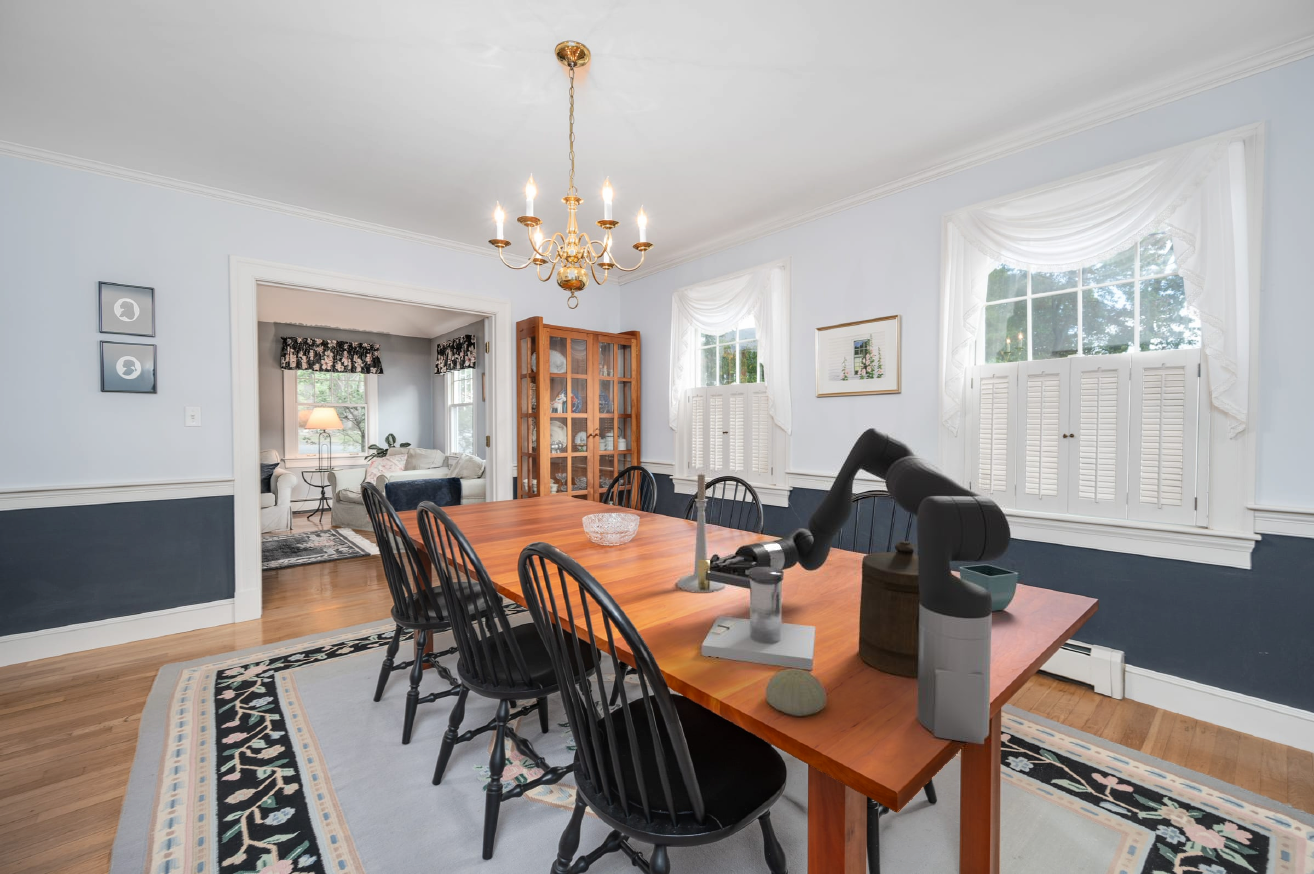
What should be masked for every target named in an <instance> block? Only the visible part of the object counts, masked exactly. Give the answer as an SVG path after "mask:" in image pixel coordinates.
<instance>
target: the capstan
mask: <svg viewBox="0 0 1314 874" xmlns="http://www.w3.org/2000/svg"><path fill="white" fill-rule="evenodd" d="M784 573H785V572H784V570H780V569H777V568H772V567H754V568H751V569H749V578H746V577H741V576H736V575H730V574H725V573H720V572H715V571H710V559H708V558H707V559H699V560H698V589H699V590H703V591H706V590H709V589H710V581H713V582H718V583H723V584H725V585H727V586H734V587H738V588H743V589H747V590H749V619H750V637H751V638H752V639H754V640H757V641H761V642H776V641H779V640H780V639H781V625H782V623H783V622H782V621H783V620H782V619H783V618H782V617H783V615H782V613H783V612H782V610H783V609H782V603H783V601H782V599H783V598H782V597H783V591H782V590H783V580H784V575H785V574H784Z"/></svg>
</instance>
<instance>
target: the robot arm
mask: <svg viewBox="0 0 1314 874" xmlns="http://www.w3.org/2000/svg"><path fill="white" fill-rule="evenodd" d="M860 470H862V471H864V472H867V473H868V474H871V475H873V476H875V477H877V478H879V479H881V480H884V481H885V487H886V490H887V492H888V494H889V495H890V498H892V499H893V500H894V502H895V503H896V504H897V505H898V506H899V507H900V508H901V509H903V510H904V511H905V512H907V513H909V514H911V515H913V516H916V539H917V555H918V580H919V594H920V595H919V648H918V678H917V719H918V722H919V723H920V724H921V725H922V726H923V727H924V728H925V729H927V730H929V732H931V733H932V734H933V736H934V737H935V738H940V739H946V740H952V741H959V742H965V743H966V742H967V743H971V744H972V743H973V744H979V745H984V744H985V739H987V738H988V737H989V735H990V710H991V709H990V707H991V705H990V702H991V701H990V700H991V699H990V698H991V654H992V620H993V619H992V615H993V613H992V612H993V611H992V598H991V595H990V593H989V592H988V591H987V590H986V589H984V588H983V587H981V586H979V585H977V584H974V583H971V582H968V581H966V580H963V579H961V578H960V577H958V576H957V575H954V574H953V573H952V569H951V562H975V563H981V562H982V563H984V562H992V561H994V560H995V561H996V560H997V559H999V558H1000V557H1002V556H1004V555H1005V553H1006V552H1007V550H1008V549H1009V546H1010V545H1011V544H1010V543H1011V535H1012V533H1011V529H1010V524H1009V521H1008V519H1007V517H1006V515H1005V513H1004V512H1003V510H1002V509H1001V508H1000V506H999V505H998V504H997V503H996V502H995V501H994V500H992V499H991V498H989V497H987V496H984V495H983V494H980V493H978V492H976V491H974V490H972V489H969V488H968V487H965V486H964V485H962V484H960V483H959V482H958V481H956V480H954V479H953V478H952V477H951V476H948V475H947V474H946V473H944V472H943V471H942V470H940V469H939V468H938V467H937V466H935V464H932V462H930V461H928V460H926V459H924V458H923V457H919V456H918V455H917V454H916V453H915V451H914V450H913V448H912V447H911V446H910V445H908V444H907V443H906V442H905V441H903V440H900V439H898V438H897V437H894V436H892V435H891V434H888V433H886V432H884V431H882V430H880V429H877V428H873V427H872V428H869V429H866V430H864V431H863V432H862V434H861V435H860V436H859V437H858V439H857V440H856V442H855V443H854V445H853V446H852V448H851V450H850V452H849V453H848V455H847V456H846V459H845V461H844V463H843V464H842V466H841V468H840V470H839V471H838V474H837V476H836V477H835V479H834V482H833V483H832V485H831V487H830V489H829V491H828V493H827V494H826V496H824V499H823V501H822V502H821V503H820V504H819V506H818V507H817V509H816V510H815V511H814V512H813V514H812V515H811V516H810V518H809V520H808V522H807V527H808V529H806V528H803V527H798V528H795V529H794V530H792V531H790V533H788V534H786V535H785V536H782V538H779V539H775V540H771V541H759V542H755V543H751V544H745V545H741V546H740V547H738V548H737V550H736V551H735V553H731V554H729V555H725V556H724V557H720V556H719V554H716V553H714V554H713V555H712V556H711V558H710V559H709V560H710V571H715V572H720V573H725V574H730V575H736V576H741V577H746V578H749V569H751V568H754V567H772V568H777V569H780V570H782V571H784V570H788V569H791V568H793V567H795V566H796V565H797V563H798V564H799V565H800V567H802V568H803V569H804V570H805V571H809V572H812V571H816V570H818V569H819V568H821V567H822V566H823V565H824V564H825V562H826V561H827V559H828V556H829V554H830V551H831V548H832V545H833V543H834V540H835V538H836V536H837V535H838V533H839V532H840V531H841V530H842V529H843V527H844V526H845V525H846V523H848V520H849V519H850V517H851V514H852V513H853V512H852V510H853V485H854V480H855V477H856V476H857V473H858V472H859V471H860Z"/></svg>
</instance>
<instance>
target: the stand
mask: <svg viewBox="0 0 1314 874" xmlns="http://www.w3.org/2000/svg"><path fill="white" fill-rule="evenodd" d="M815 641H816V626H814V625H813V626H812V625H803V624H802V625H801V624H795V623H784V622H782V625H781V639H780V640H779V641H776V642H761V641H757V640H754V639H752V638H751V637H750V618H749V619H748V618H741V617H740V618H738V617H730V616H720V615H718V616H717V617H716V619H715V621H714V623H713V625H712V627H711V628H710V630H709V632H708V633H707V635H706V636H705V638H704V640H703V642H702V644H701V656H702V655H703V656H702V657H708V656H711V657H710V658H716V657H719V658H718V659H725V660H732V661H733V660H734V661H740V662H748V663H755V664H760V665H761V664H764V665H770V666H778V667H786V668H791V669H799V670H807V671H813V668H814V667H813V666H814V656H815V654H814V653H815Z"/></svg>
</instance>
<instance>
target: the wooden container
mask: <svg viewBox="0 0 1314 874" xmlns="http://www.w3.org/2000/svg"><path fill="white" fill-rule="evenodd" d="M894 549H895V550H896V552H890V551H889V552H887V551H886V552H884V551H883V552H873V553H868V554H866V555H865V556H863V558H862V561H861V562H862V563H861V588H860V606H859V623H858V625H859V627H858V628H859V629H858V631H859V632H858V655H859V656H860V658H861V660H863V662H865V663H866V664H868V665H869V666H871V667H873V668H874V669H876V670H879V671H881V672H885V673H888V674H892V675H896V676H900V677H906V678H907V677H908V678H917V679H918V648H919V595H920V594H919V580H918V554H914V552H915V549H916V548H915V544H913V543H912V542H911V541H909V540H900V541H899V542H898V541H897V542H896V543H895V544H894Z"/></svg>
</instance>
